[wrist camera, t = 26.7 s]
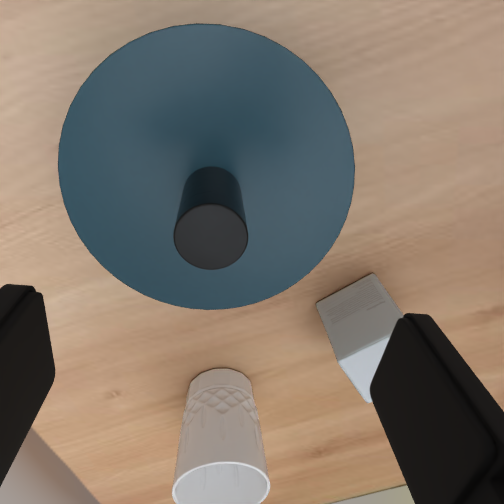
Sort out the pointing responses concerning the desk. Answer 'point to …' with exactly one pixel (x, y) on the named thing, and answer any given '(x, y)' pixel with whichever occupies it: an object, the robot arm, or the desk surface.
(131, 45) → the pot lid
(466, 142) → the desk surface
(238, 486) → the white cup
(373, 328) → the product box
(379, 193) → the desk surface
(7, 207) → the desk surface
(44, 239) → the desk surface
